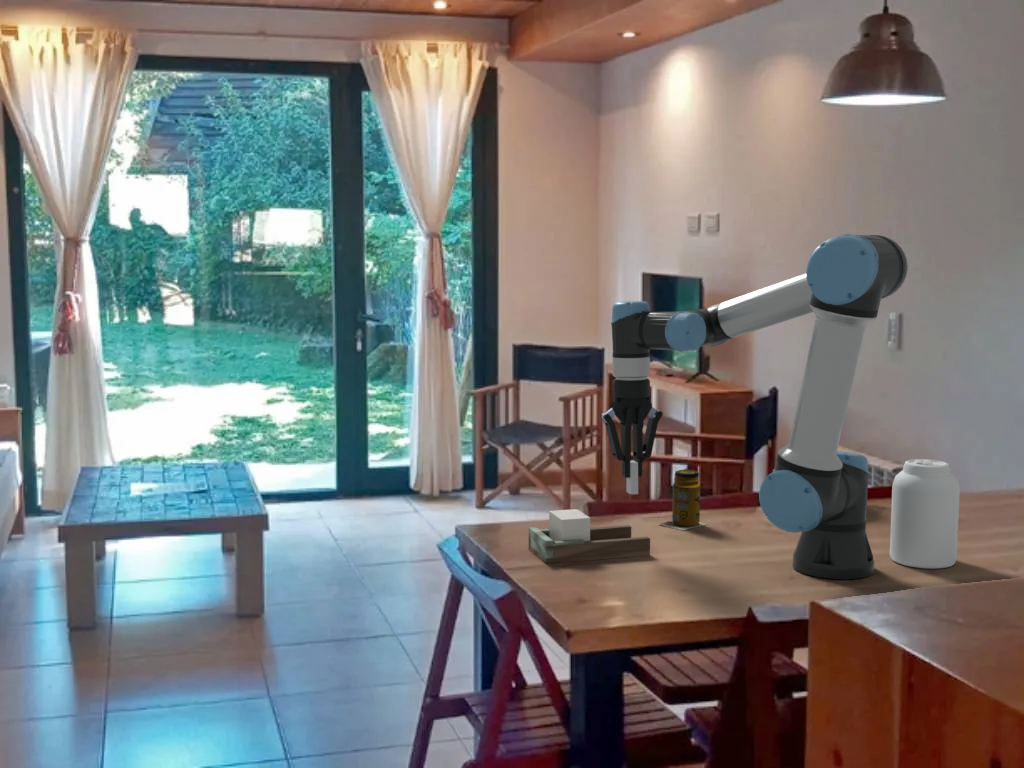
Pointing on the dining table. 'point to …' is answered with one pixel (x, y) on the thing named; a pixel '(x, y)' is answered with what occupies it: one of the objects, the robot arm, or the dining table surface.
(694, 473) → the condiment
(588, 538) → the cream block
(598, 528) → the walnut chute
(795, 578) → the dining table surface
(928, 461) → the can
